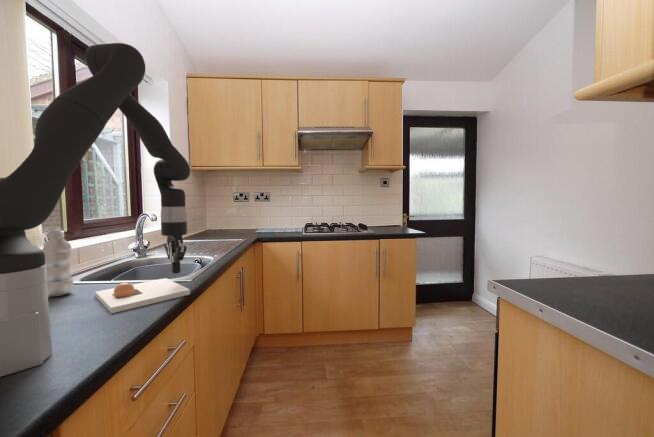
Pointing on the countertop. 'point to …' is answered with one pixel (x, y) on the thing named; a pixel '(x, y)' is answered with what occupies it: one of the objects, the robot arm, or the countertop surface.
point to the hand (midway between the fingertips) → (176, 272)
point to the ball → (123, 290)
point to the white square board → (142, 295)
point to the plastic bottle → (58, 264)
